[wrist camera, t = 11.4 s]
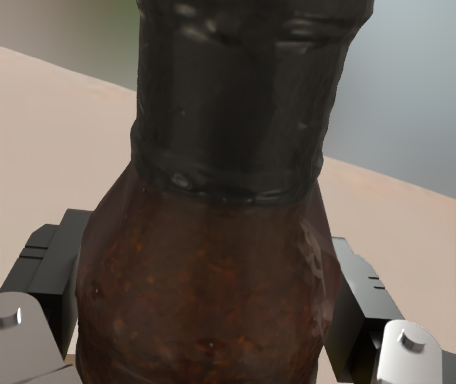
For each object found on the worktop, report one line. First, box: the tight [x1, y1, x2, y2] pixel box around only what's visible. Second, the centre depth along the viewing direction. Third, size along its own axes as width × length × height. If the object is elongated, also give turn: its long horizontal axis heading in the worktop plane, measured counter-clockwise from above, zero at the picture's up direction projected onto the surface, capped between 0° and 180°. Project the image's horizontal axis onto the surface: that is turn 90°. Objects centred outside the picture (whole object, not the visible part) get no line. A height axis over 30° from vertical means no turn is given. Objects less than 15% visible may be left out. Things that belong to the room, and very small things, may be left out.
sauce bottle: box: [74, 0, 374, 384], centre depth 11 cm, size 6×6×20 cm
